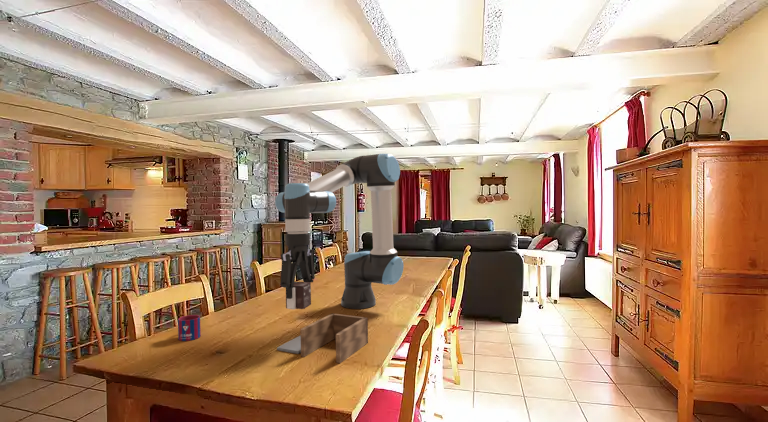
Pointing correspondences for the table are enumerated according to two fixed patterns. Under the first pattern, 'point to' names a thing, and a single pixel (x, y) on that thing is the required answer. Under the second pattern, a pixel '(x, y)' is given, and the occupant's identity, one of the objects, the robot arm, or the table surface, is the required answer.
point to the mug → (189, 327)
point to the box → (302, 294)
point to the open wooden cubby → (335, 335)
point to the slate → (292, 346)
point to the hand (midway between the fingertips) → (298, 305)
